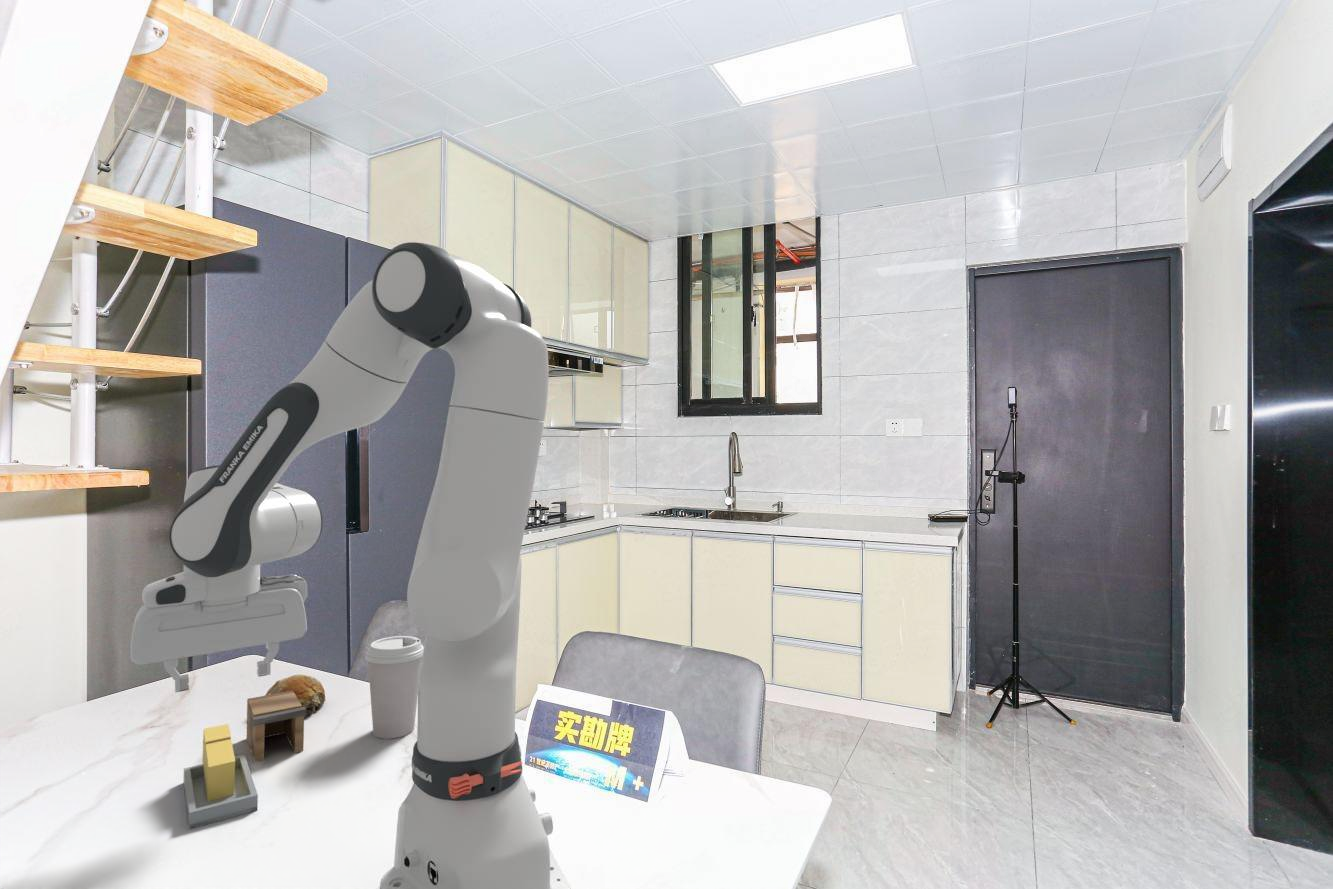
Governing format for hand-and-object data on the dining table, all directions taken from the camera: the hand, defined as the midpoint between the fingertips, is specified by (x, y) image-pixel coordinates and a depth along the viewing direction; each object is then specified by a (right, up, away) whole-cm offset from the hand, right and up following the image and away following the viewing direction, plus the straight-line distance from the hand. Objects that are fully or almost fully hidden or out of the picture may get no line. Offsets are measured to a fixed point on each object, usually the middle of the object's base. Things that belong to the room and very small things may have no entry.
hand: (224, 682), depth 93 cm
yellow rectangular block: (-3, -14, +2) cm, 15 cm away
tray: (-1, -16, 0) cm, 16 cm away
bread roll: (-7, -16, +30) cm, 35 cm away
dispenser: (-2, -16, +16) cm, 22 cm away
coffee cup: (+14, -16, +22) cm, 31 cm away
